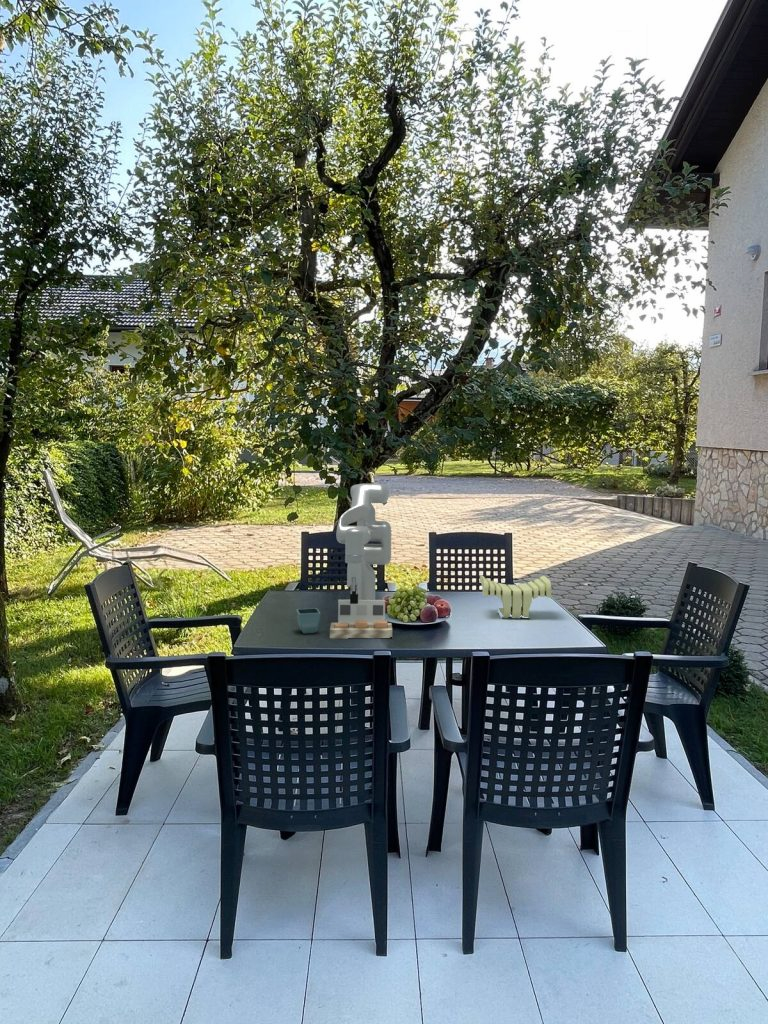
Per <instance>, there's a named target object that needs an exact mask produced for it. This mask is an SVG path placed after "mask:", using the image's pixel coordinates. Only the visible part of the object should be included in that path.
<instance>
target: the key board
mask: <svg viewBox="0 0 768 1024" xmlns="http://www.w3.org/2000/svg"><path fill="white" fill-rule="evenodd" d="M336 623H337V622H331V623H330V628H329V639H348V638H390V637H392V638H393V626H392V625H393V624H392V622H387V628H375V623H367V628H355V623H348V628H335V624H336Z"/></svg>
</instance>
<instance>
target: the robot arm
mask: <svg viewBox="0 0 768 1024" xmlns="http://www.w3.org/2000/svg"><path fill="white" fill-rule="evenodd" d="M389 495H390V492H389V487H388V486H387V485H386V484H382V483H358V484H353V485H352V486H351V487H350V497H351V504H350V508H349V509H347V510H346V511H345V512H344V513H342V514H341V516H340V517H339V519H338V521H337V526H336V533H335V534H336V535H335V536H336V540H337V542H338V543H339V544H344V545H345V550H344V553H345V555H344V557H345V558H344V560H345V561H344V562H345V564H347V569H346V587H347V588H350V593H349V600H350V604H358V600H376V572H375V570H374V569H373V567H372V565H375V566H376V565H378V566H379V565H380V566H381V565H382V566H383V565H385V566H386V565H388V564H390V562H391V560H392V528H391V524H390V522H388V521H385V520H376V508H375V507H374V505H373V504H386V503H387V502H388V500H389V497H390V496H389ZM353 523H356V525H350V524H353ZM370 542H380V543H370Z"/></svg>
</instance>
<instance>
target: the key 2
mask: <svg viewBox="0 0 768 1024" xmlns="http://www.w3.org/2000/svg"><path fill="white" fill-rule="evenodd" d="M387 623H388V620H387V619H386V620H375V628H387Z"/></svg>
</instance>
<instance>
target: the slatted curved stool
mask: <svg viewBox="0 0 768 1024" xmlns="http://www.w3.org/2000/svg"><path fill="white" fill-rule="evenodd" d="M479 582H480V584H481V588H482V596H483V597H484V598H486V597H488V596H490V597H497V598H499V599H500V600H501V603H502V607H500V608H499V607H498V609H499V610H500V612H501V613H502V615H503V617H510V614H511V615H512V617H520V616H521V615H522V616H524V617H529V618H530V614H529V613H530V612H529V611H530V608H531V605H532V604H533V603H532V602H533V600H535V599H537V598H539V597H541V598H545V597H546V598H549V599H551V598H552V584H551V580H550V579H549V578H548V577H546V576H545V575H542V576H540V577H539V578H536V579H534V580H532V581H531V580H530V581H528V582H527V583H526V582H525V583H524V582H523V583H519V584H506V583H500V582H496V581H494V580H491V579H489V578H487V577H485V576H483V575H482V574H479ZM510 618H511V617H510ZM520 618H521V617H520Z"/></svg>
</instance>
